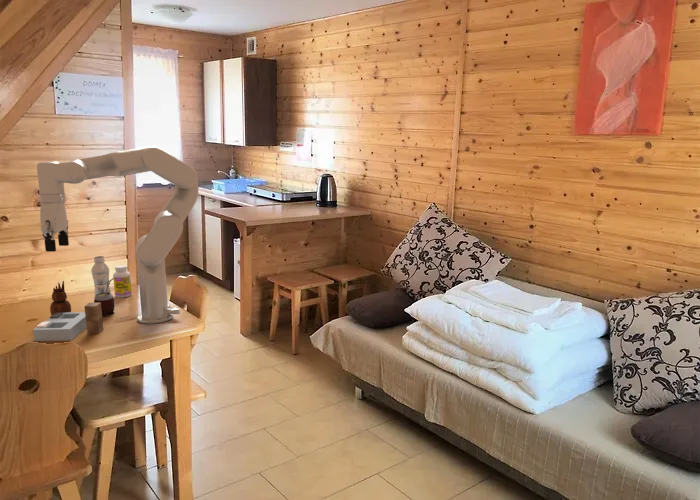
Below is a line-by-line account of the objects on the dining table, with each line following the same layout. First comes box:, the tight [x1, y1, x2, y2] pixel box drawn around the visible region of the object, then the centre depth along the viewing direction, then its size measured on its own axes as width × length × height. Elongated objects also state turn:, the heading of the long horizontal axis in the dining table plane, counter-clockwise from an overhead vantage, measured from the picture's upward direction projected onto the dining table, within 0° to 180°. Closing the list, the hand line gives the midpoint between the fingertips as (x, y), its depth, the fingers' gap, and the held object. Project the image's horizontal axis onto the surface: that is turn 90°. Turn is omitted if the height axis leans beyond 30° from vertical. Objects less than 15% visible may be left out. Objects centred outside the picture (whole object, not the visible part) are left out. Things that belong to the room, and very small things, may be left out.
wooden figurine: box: [49, 280, 72, 316], centre depth 209 cm, size 7×6×15 cm
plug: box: [84, 302, 104, 335], centre depth 198 cm, size 4×4×10 cm
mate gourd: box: [93, 277, 115, 318], centre depth 215 cm, size 8×8×15 cm
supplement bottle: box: [112, 264, 133, 299], centre depth 240 cm, size 7×7×13 cm
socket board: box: [32, 311, 87, 342], centre depth 199 cm, size 12×18×5 cm, turn 3°
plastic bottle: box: [90, 255, 112, 299], centre depth 225 cm, size 6×7×20 cm
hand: (57, 248), depth 195 cm, fingers open, 9 cm apart
